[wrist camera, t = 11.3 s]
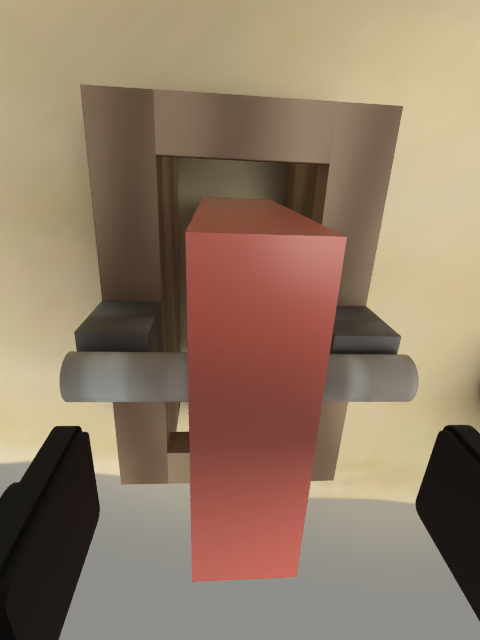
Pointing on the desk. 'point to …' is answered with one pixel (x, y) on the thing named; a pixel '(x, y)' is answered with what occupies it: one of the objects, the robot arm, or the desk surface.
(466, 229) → the desk surface
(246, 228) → the red arch block
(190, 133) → the tan hollow frame
